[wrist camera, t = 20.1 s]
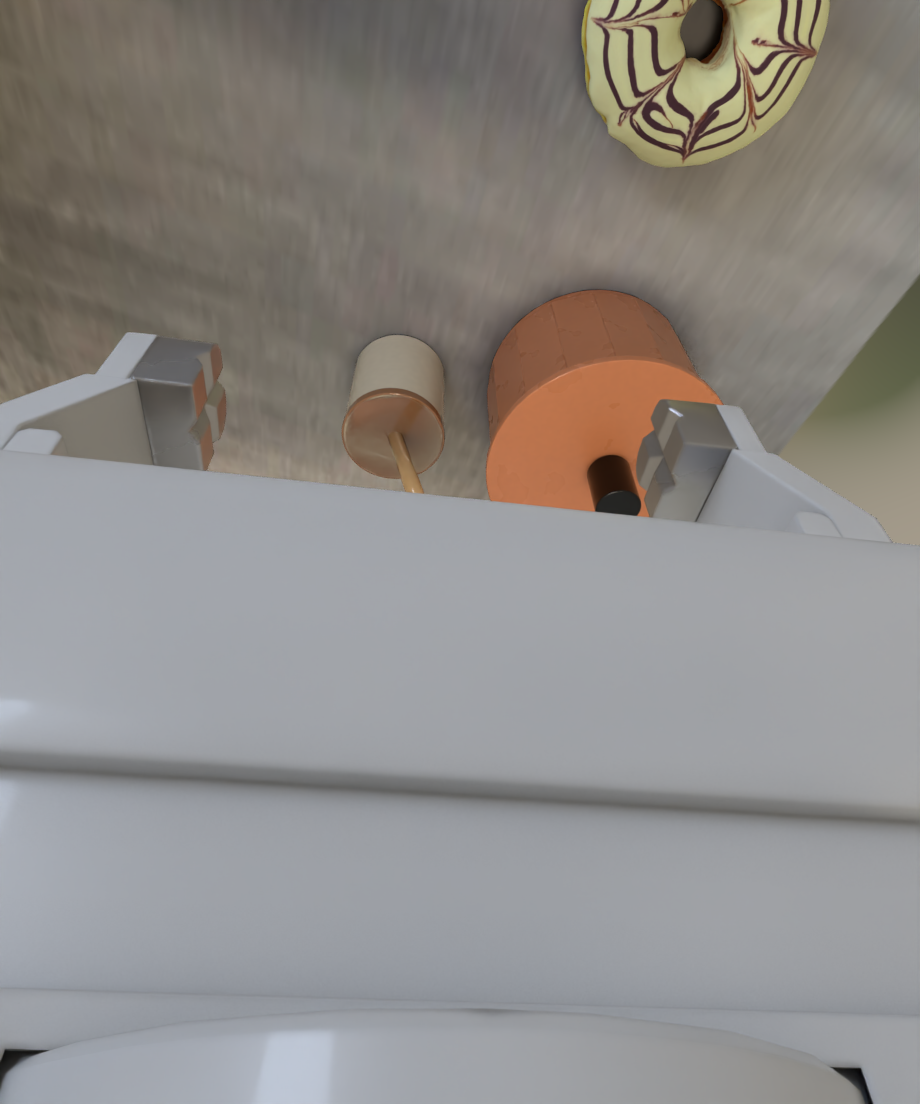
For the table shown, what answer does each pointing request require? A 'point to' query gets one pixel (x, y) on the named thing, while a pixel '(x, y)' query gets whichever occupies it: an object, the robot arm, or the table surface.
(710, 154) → the decorated donut
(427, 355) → the crock
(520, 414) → the pot lid
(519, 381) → the pot
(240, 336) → the table surface
